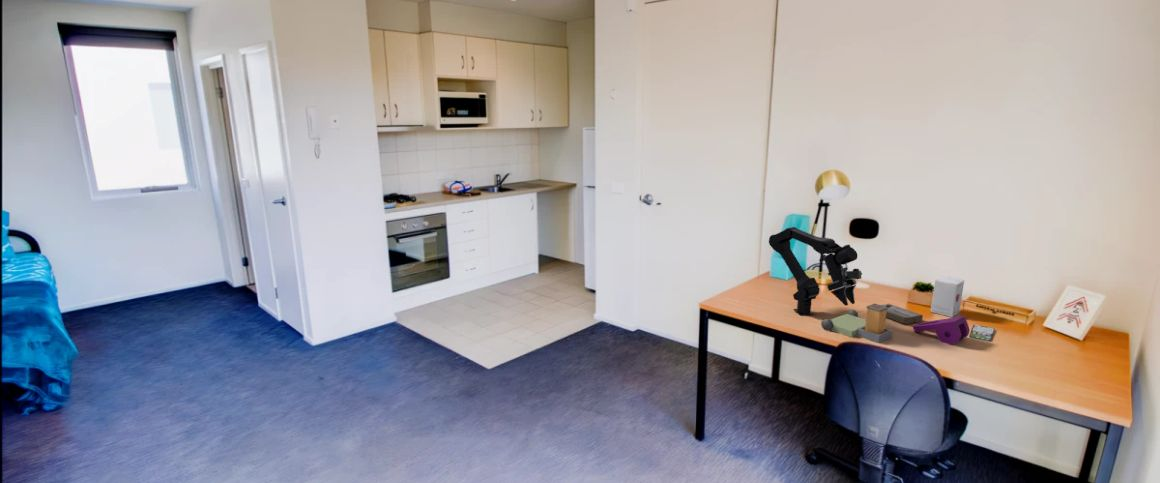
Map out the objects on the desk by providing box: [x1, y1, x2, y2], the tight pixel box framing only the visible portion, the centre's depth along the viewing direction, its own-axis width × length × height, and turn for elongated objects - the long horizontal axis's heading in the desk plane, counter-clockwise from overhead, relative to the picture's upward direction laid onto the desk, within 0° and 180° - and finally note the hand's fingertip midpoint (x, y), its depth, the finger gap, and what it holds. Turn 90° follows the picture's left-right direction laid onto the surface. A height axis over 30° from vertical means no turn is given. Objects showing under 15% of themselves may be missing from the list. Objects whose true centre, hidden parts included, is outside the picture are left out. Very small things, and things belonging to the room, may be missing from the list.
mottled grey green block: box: [968, 324, 995, 343], centre depth 244 cm, size 7×1×15 cm
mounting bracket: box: [912, 315, 971, 345], centre depth 242 cm, size 10×8×18 cm
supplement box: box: [930, 275, 965, 318], centre depth 266 cm, size 9×9×15 cm
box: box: [880, 303, 923, 325], centre depth 263 cm, size 11×17×3 cm, turn 22°
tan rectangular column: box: [865, 303, 888, 335], centre depth 241 cm, size 6×6×12 cm
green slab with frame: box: [820, 309, 893, 344], centre depth 247 cm, size 22×19×4 cm
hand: (850, 304), depth 248 cm, fingers open, 9 cm apart
